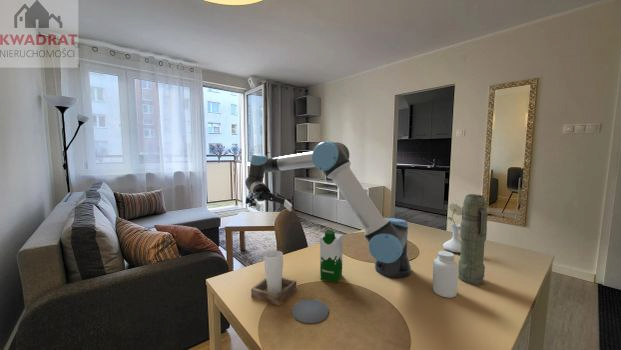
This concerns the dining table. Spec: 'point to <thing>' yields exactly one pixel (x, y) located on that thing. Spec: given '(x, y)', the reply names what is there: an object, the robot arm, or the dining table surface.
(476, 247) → the thermos
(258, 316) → the dining table surface
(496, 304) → the dining table surface
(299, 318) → the rubber coaster
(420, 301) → the dining table surface
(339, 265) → the milk carton
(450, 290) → the pill bottle
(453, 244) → the flower in vase
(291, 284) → the walnut collar
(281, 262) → the drinking glass
